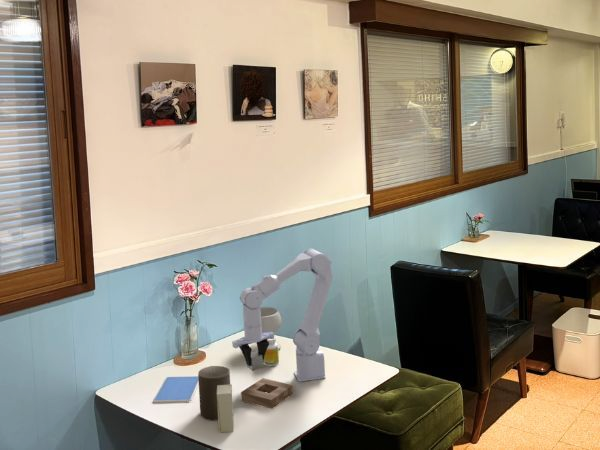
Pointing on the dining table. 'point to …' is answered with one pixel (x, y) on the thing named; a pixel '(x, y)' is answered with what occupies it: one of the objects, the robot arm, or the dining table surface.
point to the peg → (256, 361)
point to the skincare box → (225, 408)
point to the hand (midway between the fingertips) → (255, 363)
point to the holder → (273, 396)
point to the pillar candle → (211, 389)
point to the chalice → (268, 322)
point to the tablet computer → (177, 389)
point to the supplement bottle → (271, 353)
